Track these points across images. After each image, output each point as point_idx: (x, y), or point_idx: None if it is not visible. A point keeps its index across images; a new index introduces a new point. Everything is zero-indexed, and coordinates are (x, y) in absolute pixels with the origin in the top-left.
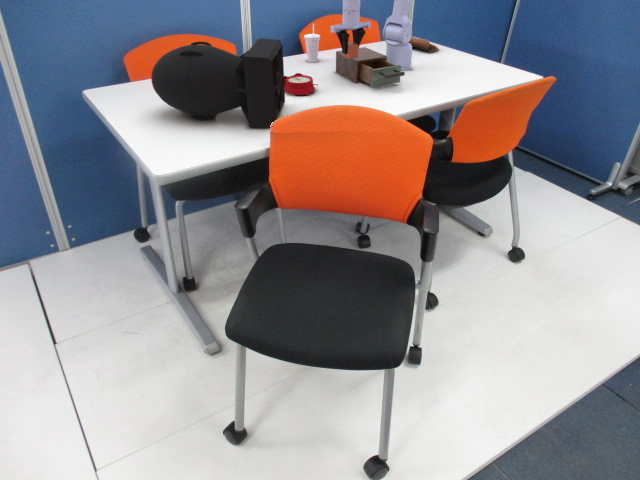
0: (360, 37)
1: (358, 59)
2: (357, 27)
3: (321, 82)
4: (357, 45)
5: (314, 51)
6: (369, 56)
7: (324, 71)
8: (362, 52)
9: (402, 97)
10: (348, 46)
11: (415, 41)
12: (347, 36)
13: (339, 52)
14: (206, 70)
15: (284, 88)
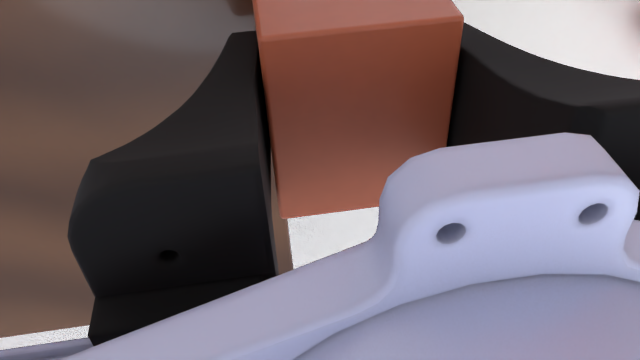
0: (218, 121)
1: (207, 2)
2: (498, 165)
3: (497, 14)
4: (281, 29)
5: None
6: (16, 70)
7: (340, 212)
8: (62, 219)
9: None
10: (456, 29)
11: None
12: (599, 96)
13: (285, 266)
14: None
15: None
